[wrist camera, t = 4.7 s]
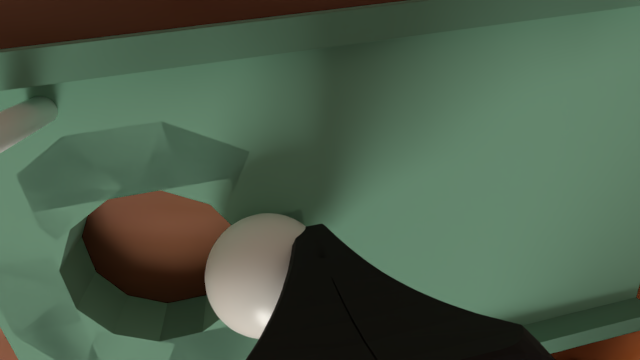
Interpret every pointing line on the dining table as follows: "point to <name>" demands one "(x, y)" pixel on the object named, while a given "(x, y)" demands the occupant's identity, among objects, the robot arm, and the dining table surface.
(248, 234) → the ball
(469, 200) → the green
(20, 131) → the flag pin
